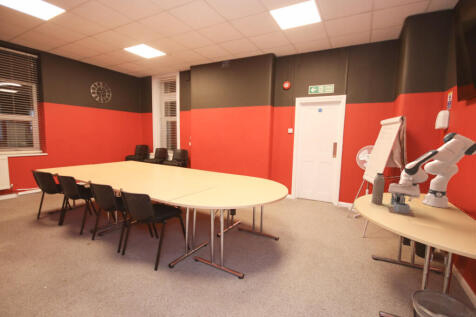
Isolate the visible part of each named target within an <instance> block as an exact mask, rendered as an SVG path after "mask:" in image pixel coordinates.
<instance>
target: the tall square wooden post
mask: <svg viewBox="0 0 476 317" xmlns="http://www.w3.org/2000/svg"><path fill="white" fill-rule="evenodd" d="M402 196H403V197H402ZM404 197H405V198H406V196H405V194H402V193H401V195H400V204H399V205H401V203H402V205H404Z"/></svg>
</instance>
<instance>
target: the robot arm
mask: <svg viewBox="0 0 476 317" xmlns="http://www.w3.org/2000/svg"><path fill="white" fill-rule="evenodd" d="M442 141H443V142H442V143H444V144H443V145H441V146H440V147H439V148H437V149H431V150H429V151H427V152H426V153H424V154H423V155H421V156H418V158H416V159H414V160H413V161H411V162H409V163H406V165H405V166H404V168H403V170H402V171H401V173H400V179H399V181H398V183H393V182H392V183H390V184H389V186H388V187H389V188H388V193H389V194H391V195H392V194H393V195H394V198H396V196H395V194H398V195H401V193H402V194H405V197H409V198H408V202H411V201H412V200H413V199H414V198H416V199H419V198H420V197H421V188H420V184H423V183H425V182H427V180H428V179H429V175H433V176H435V175H436V176H435V177H434V178H432V179H431V181H430V183H429V184H430V185H429V189H428V192H427V194H426V195H424V196H423V199H422V202H421V204H424V205H427V206H431V207H435V208H442V209H444V208H445V209H446V208H450V205H448V203H449V202H448V201H449V197H447V186H448V183H449V181H450V180H451V178H452V177H453V176H454V175H456V174H458V172H459V167H458V165H457V164H458V163H459V162H460V161H461V160H462V158H464V156H473V155H476V141H474V140H472V139H470V138H469V137H466V136H464V135H461V134H458V132H454V131H453V132H452V131H451V132H449V133H448V134H446V135H445V136H444V137H443V139H442ZM431 160H433V161H431ZM429 161H430V162H429ZM424 164H425V165H424ZM423 165H424V167H423V168H424V169H423V168H422V166H423Z"/></svg>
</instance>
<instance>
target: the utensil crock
mask: <svg viewBox="0 0 476 317" xmlns="http://www.w3.org/2000/svg"><path fill="white" fill-rule="evenodd" d="M399 204H400V202H394V206H392V207H393V210H394V211H396V212H398V213H404V214H407V213H409V210H410V207H411V206H410V204H408V203H404V205H402V203H401V205H399Z"/></svg>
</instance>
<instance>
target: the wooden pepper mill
mask: <svg viewBox="0 0 476 317" xmlns="http://www.w3.org/2000/svg"><path fill="white" fill-rule="evenodd" d="M385 182H386V181H385V177H384V173H381V172H377V173H376V176H375V177H374V179H373V184H372V192H371V193H372V194H371V203H372V204H374V205H380V206H381V205H383V199H384V190H385Z"/></svg>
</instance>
